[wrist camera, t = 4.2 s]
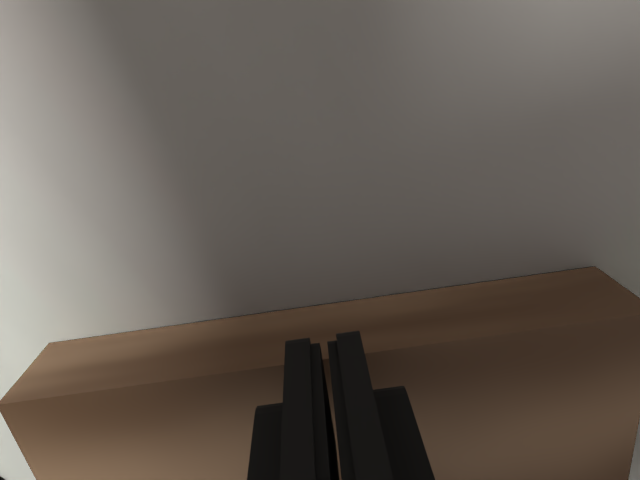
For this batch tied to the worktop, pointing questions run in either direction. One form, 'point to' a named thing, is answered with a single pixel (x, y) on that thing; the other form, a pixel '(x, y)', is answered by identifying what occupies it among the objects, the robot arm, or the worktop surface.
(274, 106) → the worktop surface
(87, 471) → the board
